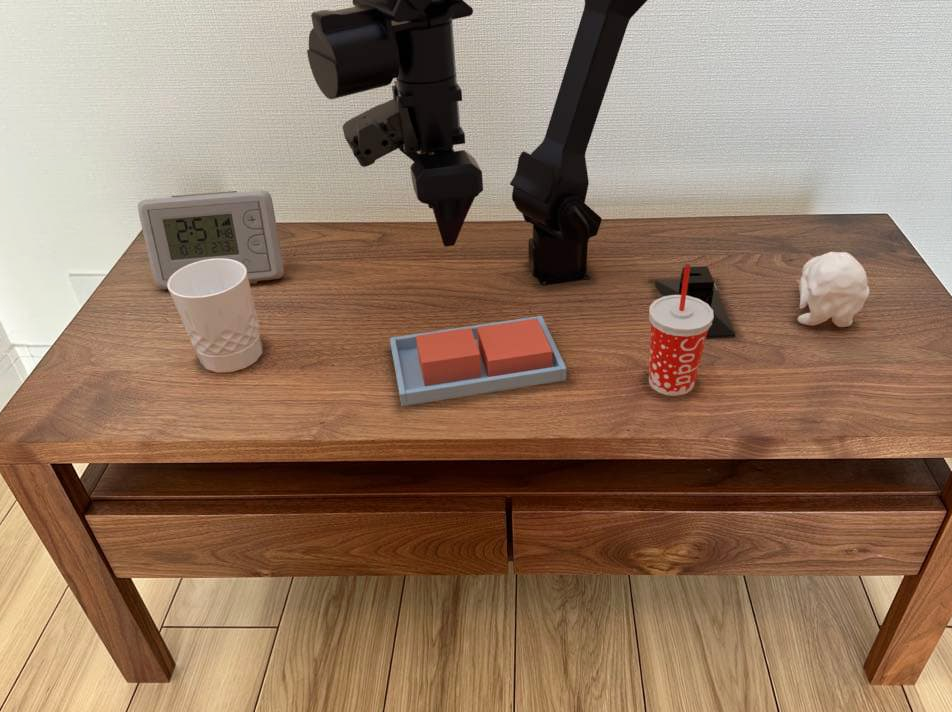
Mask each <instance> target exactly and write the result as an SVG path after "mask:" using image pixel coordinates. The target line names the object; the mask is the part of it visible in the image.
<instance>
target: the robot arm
mask: <svg viewBox="0 0 952 712" xmlns="http://www.w3.org/2000/svg"><path fill="white" fill-rule="evenodd" d="M351 2H352V5H353V6H351V7H347V8H341V9H336V10H329V9H328V10H327V9H322V10H318V11H317V10H316V11H313V12H312V13H311V14H310V17H311V18H310V19H311V23H312V28H311V30H310V32H309V34H308V49H307V50H306V53H307V59H308V63H309V67H310V71H311V74H312V76H313V78H314V81H315V83H316V85H317V86H318V88H319V91H321V93H322V94H323V95H324V96H325V97H326V98H327V99H328V100H336V99H340V98H343V97H347V96H351V95H356V94H359V93H363V92H367V91H371V90H375V89H379V88H383V87H388V86H389V85H391V83H392V82H393V84H394V85H391V91H392V99H390V100H388V101H385V102H383V103H380V104H377V105H374V106H373V107H371V108H368V109H367V110H366V111H363V112H361V113H360V114H358V115H356V116H354V117H352V118H350V119H348V120H347V121H345V122H344V124H343V125H342V131H343V135H344V139H345V141H346V143H347V144H348V146H349V148H350V149H351V151H352V154H353V157H354V158H356V160H357V162H358V164H359V165H360V166H361V167H363V168H367V167H369V166H371V165H373V164H375V163H376V160H379V159H380V158H382V157H384V156H386V155H388V154H390V153H392V152H394V151H396V150H399V152H401V153H402V154H404V155H405V156H406V157H407V158H408V159H410V160H412V161H413V163H412V164H411V165H410V167H409V168H410V175H411V176H410V177H411V181H412V185H413V187H412V188H413V191H414V193H415V196H416V199H417V200H418V201H419V202H420V203H422V204H424V205H425V204H426V205H427V206H428V208H429V209H431V210H432V211H433V216H434V218H435V221H436V222H435V223H436V224H437V228H438V232H439V234H440V238H441V241H442V245H443V246H444V247H452V246H455V245H456V242H457V240H458V237H459V235H460V232H461V230H462V227H463V225H464V223H465V221H466V218H467V215H468V213H469V211H470V209H471V207H472V205H473V203H474V201H475V198H476V197H478V196H479V195H480V194H481V193H482V192H483V191H484V184H483V183H484V181H483V179H484V178H483V171H482V169H481V167H480V166H479V163H478V162H477V160H476V158H475V157H474V156H472V155H471V154H470V153H469V152H467V151H466V150H465V149H461V150H455V149H454V146H457V145H465V144H466V135H465V132H464V130H463V128H462V126H461V119H460V116H461V115H460V104H459V103H460V102H462V101H463V90H462V88H461V87H460V85H459V84H458V78H457V66H456V52H455V51H456V49H455V38H454V23H453V21H454V20H457V19H461V18H466V17H470V16H472V15H473V13H474V9H473V7H472V6H470V5H469V4H468V3H467V2H466V1H464V0H352V1H351ZM647 2H648V0H584V6H583V10H582V14H581V18H580V21H579V24H578V27H577V31H576V34H575V37H574V41H573V43H572V47H571V50H570V54H569V57H568V59H567V64H566V67H565V70H564V72H563V73H564V74H563V76H562V80H561V83H560V87H559V89H558V93H557V96H556V99H555V103H554V106H553V109H552V112H551V116H550V119H549V122H548V126H547V129H546V132H545V136H544V138H543V140H542V142H541V143H540V144H539V145H538V146H537V147H536V148H535V149H534V150H533V151H532V152H531V153H529V152H527V151H525V150H524V151H523V150H522V152H521V153H520V154H519V156H518V160H517V167H516V171H515V173H514V176H513V177H512V179H511V181H510V183H509V186H511V187H513V188H512V193H511V200H512V202H513V203H514V207H515V208H516V210H518V212H519V213H520V214H521V215H522V217H523V219H524V222H526V223H528V224H529V223H530V224H531V225H532V237H529V238H528V268H529V269H530V272H531V275H532V276H533V277H534V278H537V281H538V283H539V285H540V286H542V287H544V286H545V287H546V286H553V285H559V284H566V283H573V282H574V283H575V282H583V281H588V280H590V279H591V274H590V272H589V271H588V249H589V247H588V246H589V241H590V239H591V238H593V237H596V236H597V235H598V234H599V230H600V227H601V224H602V216H600V215H599V214H598V213H596V212H595V210H593V209H592V208H591V207H590V206H588V204H587V203H586V199H587V193H588V190H589V189H588V188H589V185H590V184H589V183H590V182H589V175H588V167H587V160H586V154H587V149H588V147H589V143H590V140H591V137H592V135H593V131H594V128H595V125H596V122H597V119H598V116H599V113H600V110H601V107H602V103H603V101H604V98H605V94H606V92H607V88H608V86H609V83H610V79H611V77H612V73H613V70H614V68H615V65H616V61H617V58H618V56H619V54H620V53H619V52H620V49H621V47H622V43H623V40H624V37H625V34H626V31H627V28H628V25H629V22H630V20H631V19H632V18H633V16H634V15H635V14H636V13H637V12H638V11H640V9H641V8H642V7H643V6H644V5H645V4H646V3H647ZM394 79H395V80H394ZM393 80H394V81H393Z"/></svg>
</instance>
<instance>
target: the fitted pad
mask: <svg viewBox="0 0 952 712" xmlns="http://www.w3.org/2000/svg"><path fill="white" fill-rule="evenodd" d="M477 340H478V348H479V351H480V354H481V357H482V360H483V363H484V366H485V369H486V372H487V375H488V377H493V376H499V375H505V374H512V373H518V372H525V371H531V370H538V369H544V368H550V367H552V349H551V347H550V345H549V343H548V341H547V338H546V336H545V334H544V332H543V330H542V328H541V325H540V323H539V321H538V319H530V320H523V321H516V322H509V323H503V324H496V325H489V326H482V327H477Z"/></svg>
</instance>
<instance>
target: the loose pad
mask: <svg viewBox="0 0 952 712" xmlns="http://www.w3.org/2000/svg"><path fill="white" fill-rule="evenodd" d="M416 343H417V351H418V358H419V363H420V367H421V372H422V376H423V381H424V385H425V386H427V385H434V384H440V383H446V382H453V381H459V380H466V379H472V378H478V377H481V363H480V353H479V350H478V347H477V344H476V341H475V338H474V335H473V332H472V329H471V328H467V329H460V330H453V331H446V332H439V333H433V334H426V335H419V336H416Z"/></svg>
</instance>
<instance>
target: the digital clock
mask: <svg viewBox="0 0 952 712" xmlns="http://www.w3.org/2000/svg"><path fill="white" fill-rule="evenodd" d="M137 211H138V216H139V220H140V225H141V230H142V235H143V238H144V242H145V247H146V251H147V256H148V261H149V264H150V269H151V273H152V278H153V281H154V284H155V286H156V287H157V288H159V289H161V290H169V289H168V287H167V283H168V280H169V278H170V277H171V276H172V275H173V274H174V273H175V272H176V271H177V270H179V269H181V268H182V267H184V266H187V265H189V264H191V263H194V262H198V261H202V260H207V259H216V258H224V259H232V260H235V261H238V262H240V263H242V264H243V265H244V266H245V267H246V270H247V274H248V278H249V283H250V285H251V284H252V285H253V284H258V282H260V281H271V280H278V279H281V278H282V277H284V274H285V268H284V267H285V266H284V261H283V255H282V249H281V243H280V237H279V232H278V226H277V219H276V214H275V208H274V204H273V199H272V195H271V193H270V192H269V191H267V190H263V189H262V190H248V191H237V190H230V191H216V192H204V193H202V192H201V193H192V194H191V193H190V194H178V195H171V197H159V198H148V199H143V200H140V201H139V202H138V204H137Z"/></svg>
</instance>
